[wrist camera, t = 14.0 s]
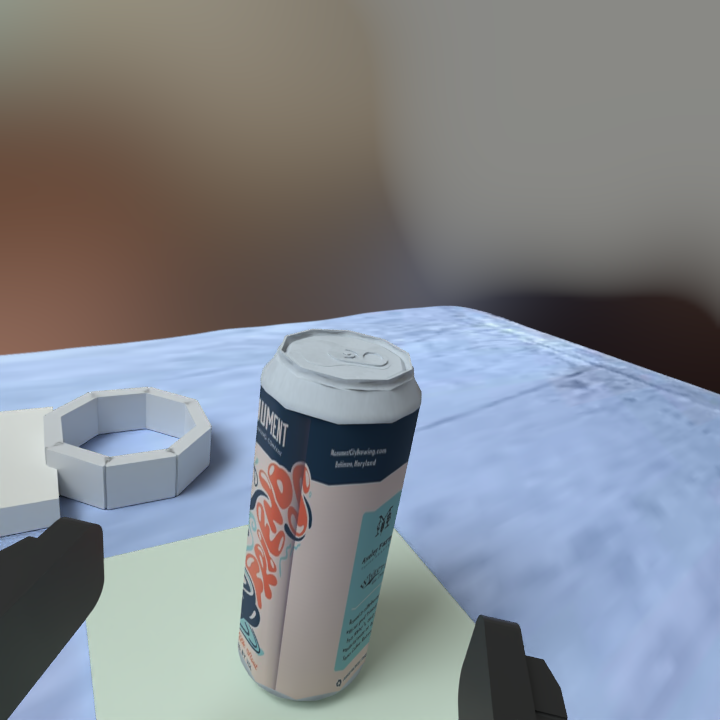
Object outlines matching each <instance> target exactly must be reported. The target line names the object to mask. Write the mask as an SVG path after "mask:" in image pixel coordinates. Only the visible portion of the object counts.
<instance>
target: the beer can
mask: <svg viewBox="0 0 720 720" xmlns="http://www.w3.org/2000/svg"><path fill="white" fill-rule="evenodd" d="M420 405H421V390H420V388H419V386H418V384H417V382H416V380H415V378H414V368H413V366H412V364H411V359H410V355H409V353H407V352H406V351H404V350H402V349H400V348H399V347H397V346H395V345H393V344H392V343H390V342H388V341H387V340H385V339H381V338H377V337H373V336H369V335H365V334H361V333H357V332H353V331H349V330H328V329H310V330H306V331H302V332H298V333H294V334H290V335H286V336H285V338H284V340H283V342H282V343H281V345H280V346H279V347H278V349H277V352H276V354H275V355H274V357H273V358H272V359H271V360H270V361H269V362H268V363H267V364H266V366H265V367H264V368H263V370H262V374H261V389H260V400H259V412H258V423H257V435H256V446H255V457H254V469H253V480H252V491H251V503H250V514H249V526H248V537H247V548H246V560H245V571H244V582H243V594H242V605H241V617H240V628H239V639H238V652H239V656H240V659H241V662H242V664H243V666H244V667H245V669H246V671H247V673H248V674H249V676H250V677H251V678H252V679H253V680H254V681H255V682H256V683H257V684H258V685H259V686H260V687H261V688H263V689H264V690H266V691H268V692H269V693H271V694H273V695H275V696H277V697H281V698H285V699H289V700H293V701H316V700H320V699H324V698H326V697H329V696H332V695H335V694H336V693H338V692H339V691H341V690H343V689H344V688H346V687H347V686H348V685H349V684H350V683H351V682H352V681H353V680H354V679H355V678H356V676H357V675H358V674H359V672H360V670H361V668H362V666H363V664H364V662H365V659H366V654H367V649H368V645H369V640H370V635H371V631H372V626H373V621H374V617H375V612H376V608H377V603H378V598H379V594H380V589H381V584H382V580H383V575H384V570H385V566H386V561H387V557H388V552H389V547H390V543H391V538H392V533H393V529H394V524H395V520H396V515H397V510H398V506H399V501H400V496H401V492H402V487H403V482H404V478H405V473H406V469H407V464H408V459H409V455H410V450H411V445H412V441H413V436H414V432H415V427H416V422H417V418H418V413H419V408H420Z"/></svg>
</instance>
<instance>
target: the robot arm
mask: <svg viewBox="0 0 720 720" xmlns="http://www.w3.org/2000/svg"><path fill="white" fill-rule="evenodd" d="M103 586H104V553H103V531H102V528H101V526H100V525H98V524H94V523H90V522H85V521H81V520H77V519H72V518H68V517H62V518H60V519H58V520H57V521H55V522H54V523H53V524H52V525H51V526H50V527H49V528H48V529H47V530H46V531H44V532H43V533H42V534H41V535H40V536H39V537H38V538H34V537H30V536H28V537H26V538H24V539H23V540H21V541H19V542H17V543H15V544H13V545H11V546H9V547H7V548H5V549H3V550H1V551H0V720H7V719H8V718H9V717H10V715H11V714H12V713H13V711H14V710H15V709H16V708H17V706H18V705H19V704H20V702H21V701H22V700H23V699H24V697H25V696H26V695H27V694H28V692H29V691H30V690H31V688H32V687H33V686H34V685H35V683H36V682H37V681H38V680H39V678H40V677H41V676H42V674H43V673H44V672H45V671H46V669H47V668H48V667H49V665H50V664H51V663H52V662H53V660H54V659H55V658H56V657H57V655H58V654H59V653H60V651H61V650H62V649H63V648H64V646H65V645H66V644H67V642H68V641H69V640H70V639H71V637H72V636H73V635H74V634H75V632H76V631H77V630H78V628H79V627H80V626H81V625H82V623H83V622H84V621H85V620H86V618H87V617H88V616H89V614H90V613H91V612H92V610H93V609H94V607H95V606H96V604H97V602H98V600H99V598H100V595H101V593H102V590H103ZM458 720H567V713H566V709H565V705H564V700H563V696H562V692H561V688H560V686H559V684H558V683H557V681H556V679H555V678H554V676H553V674H552V673H551V671H550V669H549V668H548V666H547V664H546V663H545V661H544V660H543V659H539V658H534V657H530V656H526V655H525V651H524V645H523V640H522V634H521V629H520V626H519V625H518V624H517V623H514V622H510V621H505V620H501V619H497V618H493V617H488V616H484V615H479V617H478V619H477V621H476V624H475V627H474V630H473V634H472V637H471V640H470V643H469V646H468V649H467V652H466V656H465V659H464V662H463V665H462V669H461V673H460V679H459V688H458Z"/></svg>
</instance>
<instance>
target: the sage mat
mask: <svg viewBox="0 0 720 720" xmlns="http://www.w3.org/2000/svg"><path fill="white" fill-rule="evenodd" d="M248 526H249V525H245V526H240V527H236V528H232V529H228V530H223V531H219V532H215V533H211V534H206V535H202V536H198V537H193V538H189V539H185V540H181V541H176V542H172V543H168V544H164V545H159V546H155V547H151V548H146V549H142V550H138V551H134V552H129V553H125V554H121V555H117V556H112V557H108V558H104V586H103V590H102V593H101V595H100V598H99V600H98V602H97V604H96V606H95V607H94V609H93V610H92V612H91V613H90V614H89V616H88V617H87V618H86V627H87V636H88V646H89V656H90V665H91V675H92V685H93V694H94V704H95V713H96V720H458V688H459V679H460V673H461V669H462V665H463V662H464V659H465V656H466V652H467V649H468V646H469V643H470V640H471V637H472V634H473V630H474V627H475V623H474V622H473V621H472V620H471V619H470V617H469V616H468V615H467V614H466V613H465V611H464V610H463V609H462V608H461V607H460V606H459V604H458V603H457V602H456V601H455V600H454V598H453V597H452V596H451V595H450V594H449V593H448V591H447V590H446V589H445V588H444V587H443V585H442V584H441V583H440V582H439V581H438V579H437V578H436V577H435V576H434V575H433V574H432V572H431V571H430V570H429V569H428V568H427V566H426V565H425V564H424V563H423V562H422V561H421V559H420V558H419V557H418V556H417V555H416V553H415V552H414V551H413V550H412V549H411V548H410V546H409V545H408V544H407V543H406V542H405V540H404V539H403V538H402V537H401V536H400V535H399V533H398V532H397V531H396V530H395V529H393V533H392V538H391V543H390V547H389V552H388V557H387V561H386V566H385V570H384V575H383V580H382V584H381V589H380V594H379V598H378V603H377V608H376V612H375V617H374V621H373V626H372V631H371V635H370V640H369V645H368V649H367V654H366V659H365V662H364V664H363V666H362V668H361V670H360V672H359V674H358V675H357V676H356V678H355V679H354V680H353V681H352V682H351V683H350V684H349V685H348V686H347V687H346V688H344V689H343V690H341V691H339V692H338V693H336V694H335V695H332V696H329V697H326V698H324V699H320V700H316V701H293V700H289V699H285V698H281V697H277V696H275V695H273V694H271V693H269V692H268V691H266V690H264V689H263V688H261V687H260V686H259V685H258V684H257V683H256V682H255V681H254V680H253V679H252V678H251V677H250V676H249V674H248V673H247V671H246V669H245V667H244V666H243V664H242V662H241V659H240V656H239V652H238V639H239V628H240V617H241V605H242V594H243V582H244V571H245V560H246V548H247V537H248Z"/></svg>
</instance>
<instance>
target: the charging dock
mask: <svg viewBox="0 0 720 720" xmlns="http://www.w3.org/2000/svg"><path fill="white" fill-rule="evenodd" d="M145 428H146V429H150V430H153V431H157V432H160V433H163V434H167V435H170V436H174V437H177V438H180V439H179V440H178V441H176V442H175V443H174V444H173V445H171V446H170V447H169V448H168V449H161V450H155V451H148V452H141V453H134V454H127V455H120V456H113V457H109V456H105V455H102V454H99V453H96V452H92V451H89V450H86V449H83V448H79V446H80V445H82V444H84V443H85V442H87V441H88V440H90V439H92V438H93V437H95V436H96V435H98V434H104V433H112V432H121V431H129V430H137V429H145ZM211 429H212V426H211V424H210V422H209V420H208V419H207V417H206V415H205V413H204V411H203V409H202V408H201V406H200V404H199V402H198V401H196V399H192V398H188V397H185V396H181V395H177V394H174V393H170V392H167V391H163V390H159V389H156V388H152V387H150V388H148V387H141V388H129V389H117V390H105V391H93V392H91V393H89V392H88V393H86V394H84V395H82V396H80V397H78V398H76V399H74V400H73V401H71V402H69V403H67V404H65V405H63V406H61V407H59V408H57V409H55V410H53V407H45V408H34V409H24V410H13V411H2V412H0V537H1V536H6V535H11V534H17V533H22V532H27V531H32V530H37V529H42V528H47V527H50V526H51V525H52V524H53V523H54V522H55V521H57V520H58V519H60V504H59V495H62V496H65V497H68V498H71V499H74V500H77V501H80V502H83V503H86V504H89V505H92V506H95V507H98V508H101V509H106V508H107V510H108V509H114V508H119V507H124V506H129V505H135V504H140V503H145V502H150V501H156V500H161V499H166V498H171V497H175V495H177V496H178V495H179V494H180V493H181V492H182V491H183V490H184V489H185V488H186V487H187V486H188V485H189V484H190V483H191V482H192V481H193V480H194V479H195V478H196V477H197V476H198V475H199V474H200V473H201V472H202V471H203V470H204V469H205V468H207V467H208V466H209V463H210V448H211Z"/></svg>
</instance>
